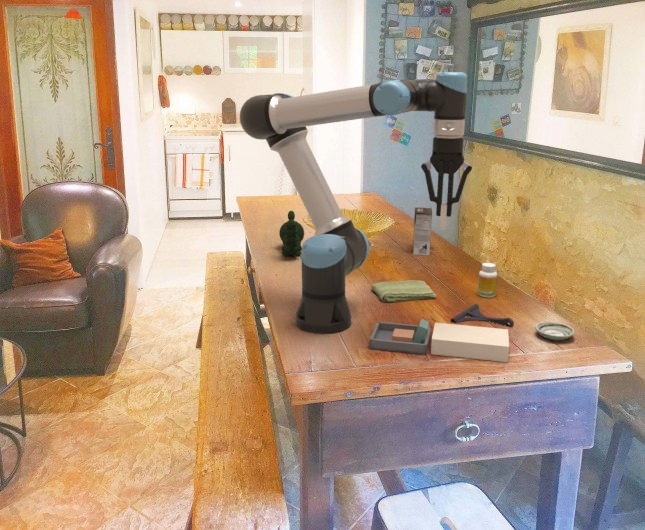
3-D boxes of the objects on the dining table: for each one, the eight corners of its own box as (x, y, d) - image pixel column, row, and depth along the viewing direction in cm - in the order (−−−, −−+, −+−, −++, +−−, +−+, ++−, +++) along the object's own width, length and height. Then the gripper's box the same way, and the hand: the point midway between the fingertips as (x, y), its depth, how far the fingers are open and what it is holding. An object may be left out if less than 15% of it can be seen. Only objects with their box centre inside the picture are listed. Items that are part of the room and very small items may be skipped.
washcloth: (438, 300, 190) (438, 290, 190) (382, 304, 187) (382, 294, 186) (422, 286, 203) (422, 277, 202) (369, 290, 199) (369, 280, 198)
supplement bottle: (496, 298, 191) (498, 267, 188) (477, 297, 192) (480, 266, 189) (495, 292, 196) (497, 262, 193) (477, 291, 197) (479, 261, 194)
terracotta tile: (412, 338, 157) (412, 345, 157) (414, 330, 161) (414, 337, 162) (392, 336, 158) (391, 343, 158) (394, 328, 162) (394, 335, 163)
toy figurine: (305, 266, 227) (304, 241, 250) (304, 215, 220) (303, 195, 243) (278, 266, 227) (280, 242, 250) (277, 216, 220) (279, 195, 243)
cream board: (430, 354, 154) (431, 338, 152) (434, 336, 163) (435, 322, 162) (507, 362, 149) (509, 346, 148) (506, 344, 159) (508, 329, 158)
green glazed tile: (419, 346, 157) (412, 343, 157) (421, 338, 161) (414, 335, 162) (427, 329, 155) (419, 326, 155) (429, 321, 160) (421, 318, 160)
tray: (369, 348, 156) (369, 339, 156) (377, 330, 168) (377, 321, 167) (426, 354, 153) (426, 345, 152) (430, 335, 164) (431, 326, 164)
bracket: (501, 337, 165) (502, 327, 164) (450, 323, 174) (450, 314, 173) (522, 321, 176) (523, 312, 175) (473, 309, 185) (474, 300, 184)
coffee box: (412, 248, 244) (414, 207, 239) (429, 248, 243) (432, 207, 238) (412, 254, 236) (414, 212, 231) (430, 255, 235) (432, 212, 230)
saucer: (552, 347, 158) (553, 338, 157) (526, 333, 167) (527, 324, 166) (581, 341, 162) (583, 332, 161) (554, 327, 170) (555, 319, 170)
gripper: (420, 137, 156) (416, 230, 163) (474, 138, 153) (468, 233, 160) (423, 134, 163) (419, 223, 170) (475, 135, 160) (468, 226, 167)
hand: (442, 228), depth 165 cm, fingers closed
